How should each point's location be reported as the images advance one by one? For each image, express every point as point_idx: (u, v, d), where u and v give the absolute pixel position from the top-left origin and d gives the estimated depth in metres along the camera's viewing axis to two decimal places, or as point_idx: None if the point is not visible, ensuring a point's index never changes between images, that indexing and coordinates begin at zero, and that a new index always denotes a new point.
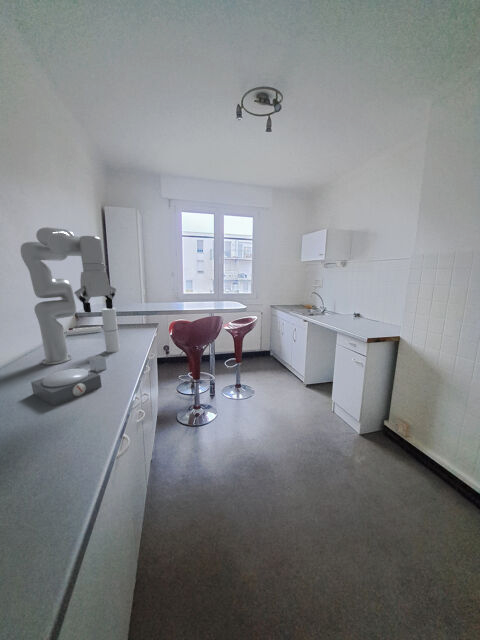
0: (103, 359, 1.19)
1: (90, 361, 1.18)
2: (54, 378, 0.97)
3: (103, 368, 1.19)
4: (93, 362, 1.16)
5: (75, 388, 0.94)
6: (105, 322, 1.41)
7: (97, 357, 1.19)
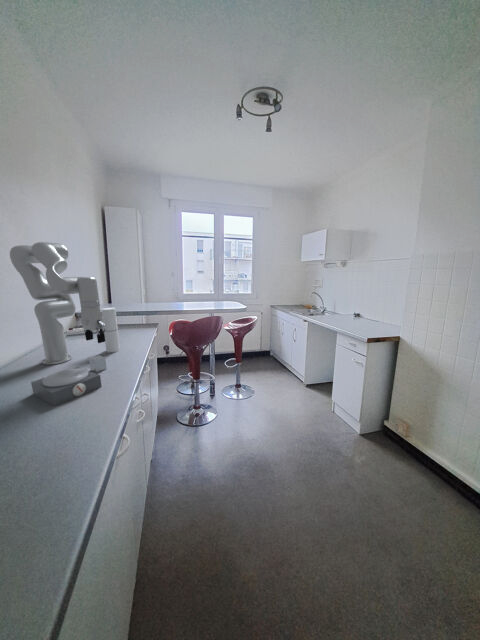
0: (103, 359, 1.19)
1: (90, 361, 1.18)
2: (54, 378, 0.97)
3: (103, 368, 1.19)
4: (93, 362, 1.16)
5: (75, 388, 0.94)
6: (105, 322, 1.41)
7: (97, 357, 1.19)
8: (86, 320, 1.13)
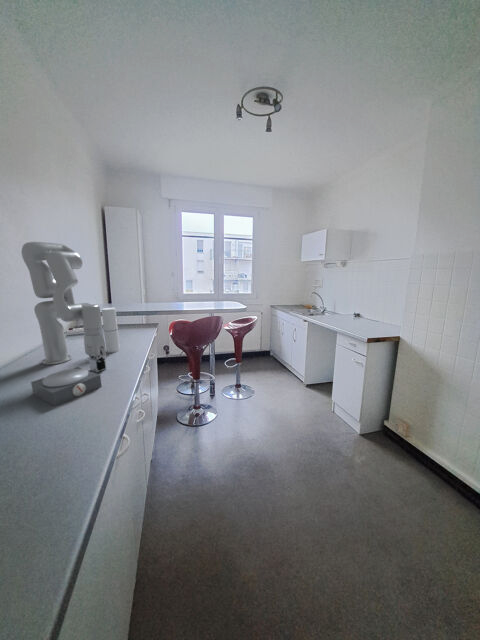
0: None
1: (90, 361, 1.18)
2: (54, 378, 0.97)
3: None
4: (93, 362, 1.16)
5: (75, 388, 0.94)
6: (105, 322, 1.41)
7: None
8: (89, 347, 1.15)
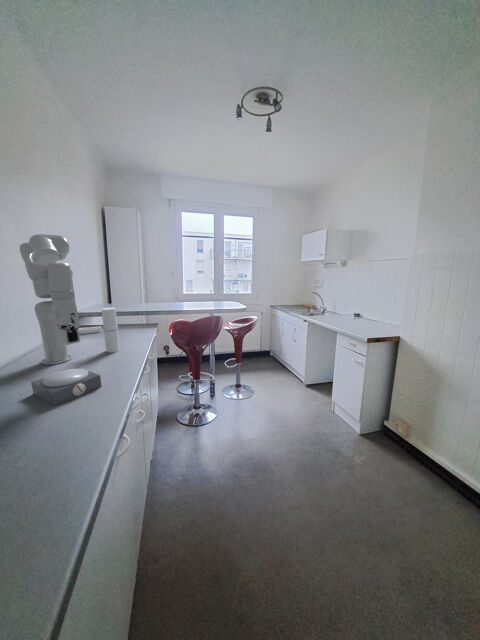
0: None
1: (60, 331, 0.98)
2: (54, 378, 0.97)
3: None
4: (63, 333, 0.97)
5: (75, 388, 0.94)
6: (105, 322, 1.41)
7: None
8: (57, 314, 0.96)
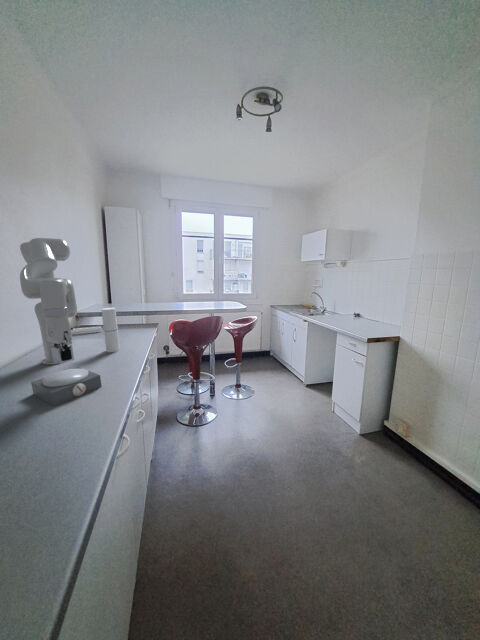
0: None
1: (52, 350, 0.95)
2: (54, 378, 0.97)
3: None
4: (56, 351, 0.94)
5: (75, 388, 0.94)
6: (105, 322, 1.41)
7: None
8: (50, 332, 0.92)
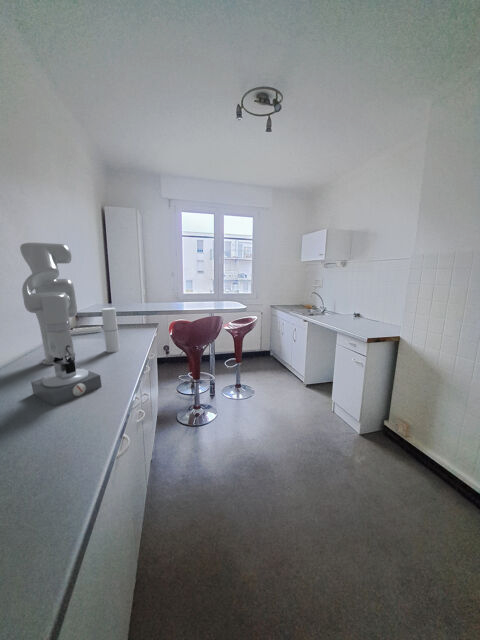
0: None
1: (55, 366, 0.96)
2: (54, 378, 0.97)
3: (72, 374, 0.98)
4: (58, 367, 0.95)
5: (75, 388, 0.94)
6: (105, 322, 1.41)
7: (64, 361, 0.98)
8: (52, 346, 0.94)
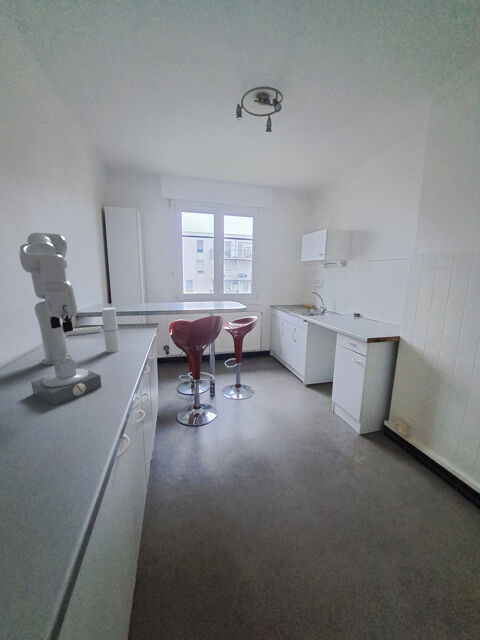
0: (71, 363, 0.98)
1: (55, 366, 0.96)
2: (54, 378, 0.97)
3: (72, 374, 0.98)
4: (58, 367, 0.95)
5: (75, 388, 0.94)
6: (105, 322, 1.41)
7: (64, 361, 0.98)
8: (49, 305, 0.96)
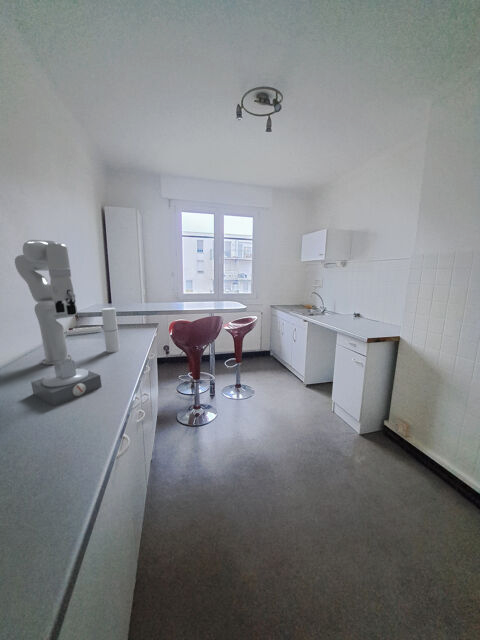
0: (71, 363, 0.98)
1: (55, 366, 0.96)
2: (54, 378, 0.97)
3: (72, 374, 0.98)
4: (58, 367, 0.95)
5: (75, 388, 0.94)
6: (105, 322, 1.41)
7: (64, 361, 0.98)
8: (55, 290, 1.06)
